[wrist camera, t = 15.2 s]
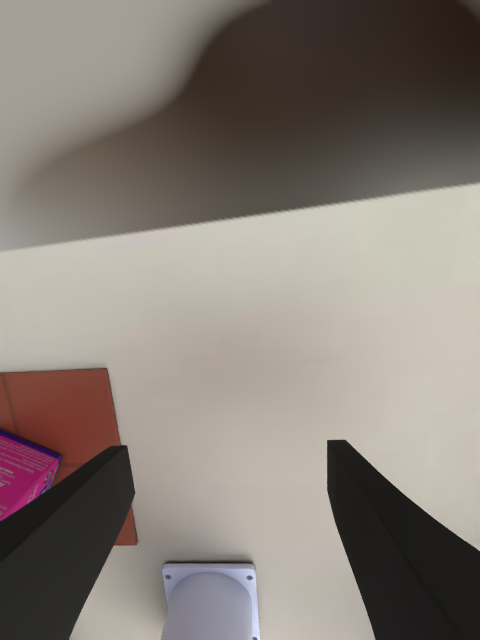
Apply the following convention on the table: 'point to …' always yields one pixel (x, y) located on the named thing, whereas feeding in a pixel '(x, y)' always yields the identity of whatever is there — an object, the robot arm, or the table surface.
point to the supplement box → (23, 472)
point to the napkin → (64, 419)
